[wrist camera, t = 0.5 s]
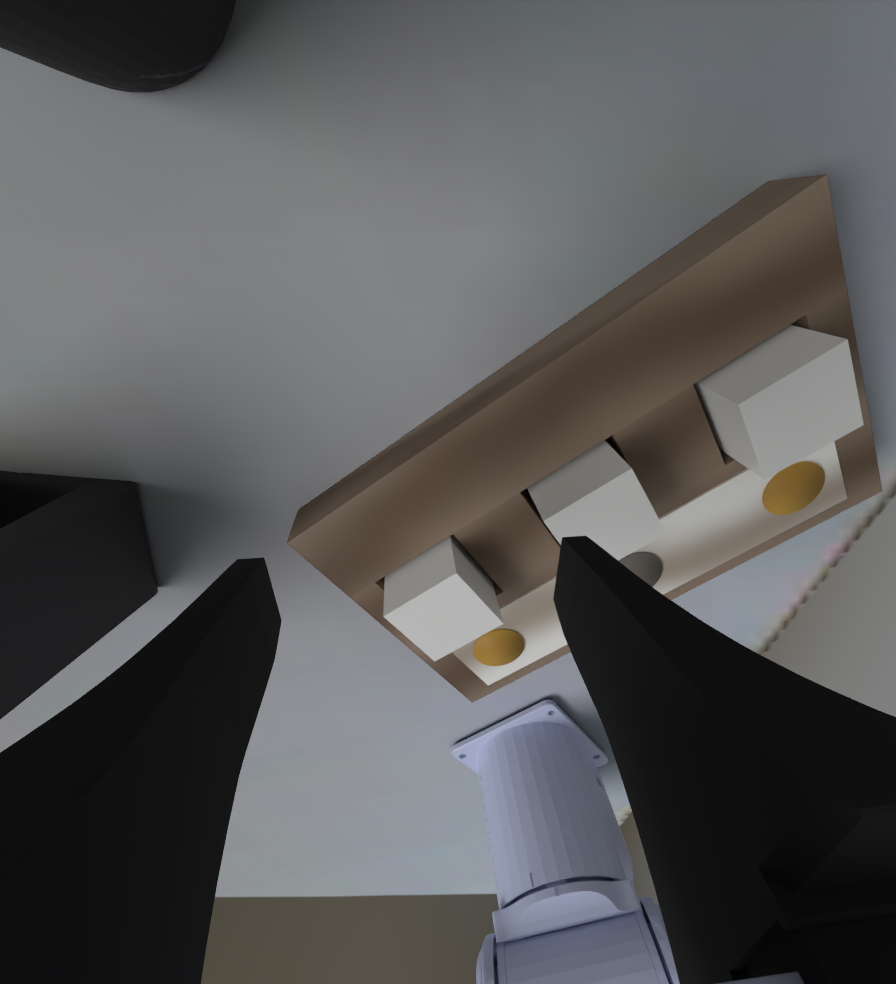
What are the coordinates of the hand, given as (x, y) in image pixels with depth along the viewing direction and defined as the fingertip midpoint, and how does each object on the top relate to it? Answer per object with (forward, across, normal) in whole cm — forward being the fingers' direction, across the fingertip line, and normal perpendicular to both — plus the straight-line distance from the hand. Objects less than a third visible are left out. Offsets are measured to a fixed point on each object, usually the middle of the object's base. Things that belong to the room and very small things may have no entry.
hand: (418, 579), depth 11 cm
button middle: (+8, -7, +2) cm, 11 cm away
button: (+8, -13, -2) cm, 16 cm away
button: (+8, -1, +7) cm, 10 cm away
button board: (+9, -8, +3) cm, 13 cm away
